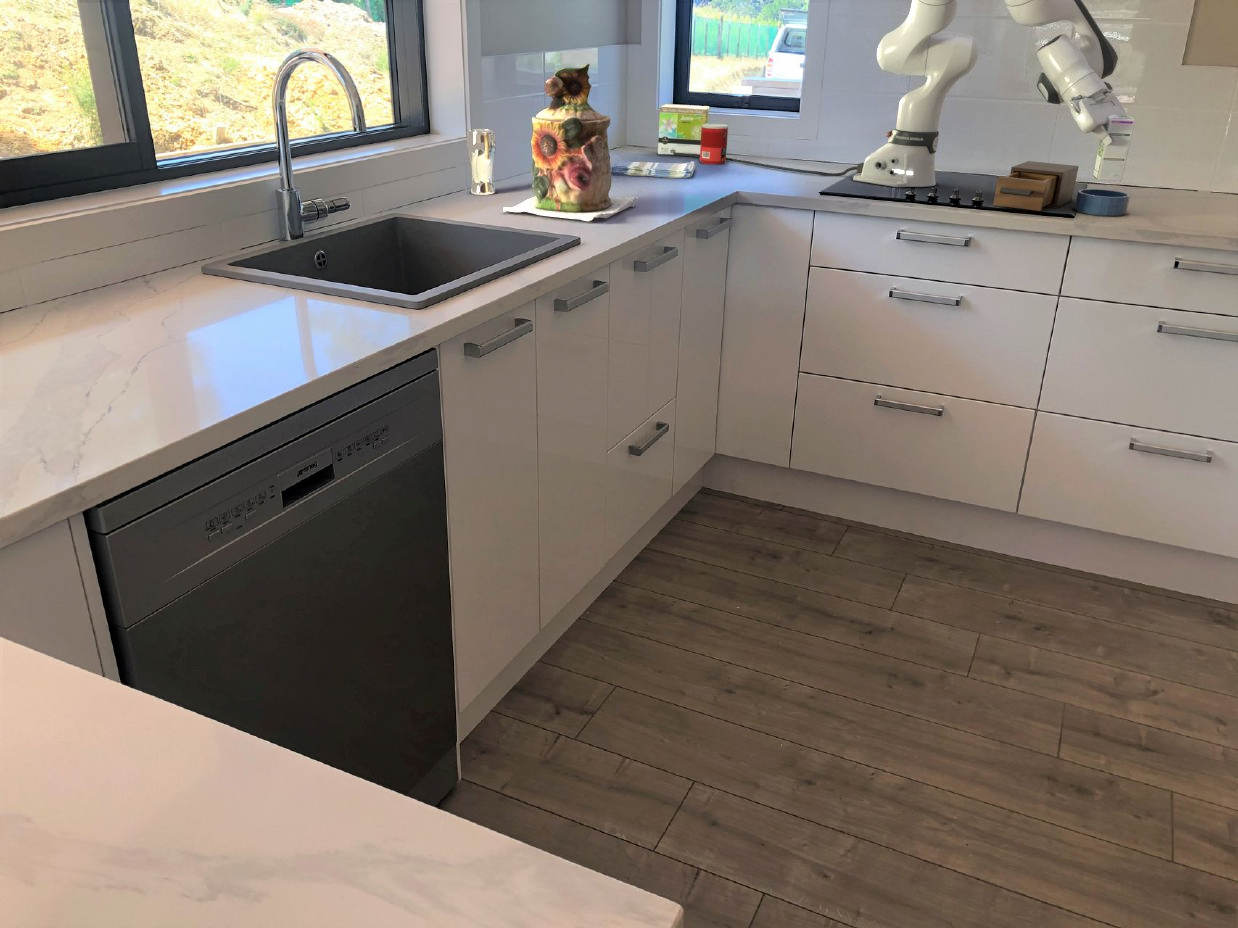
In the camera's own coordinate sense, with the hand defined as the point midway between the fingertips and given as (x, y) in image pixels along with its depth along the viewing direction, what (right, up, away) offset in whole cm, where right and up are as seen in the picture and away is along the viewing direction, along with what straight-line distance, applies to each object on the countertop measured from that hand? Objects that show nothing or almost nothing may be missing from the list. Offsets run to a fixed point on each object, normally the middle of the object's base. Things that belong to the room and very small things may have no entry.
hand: (1117, 142), depth 240 cm
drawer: (-20, -13, +8) cm, 25 cm away
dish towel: (-109, +7, +49) cm, 120 cm away
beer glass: (-153, -9, +14) cm, 154 cm away
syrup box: (-1, -8, +4) cm, 9 cm away
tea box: (-99, +23, +85) cm, 132 cm away
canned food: (-90, +16, +69) cm, 115 cm away
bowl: (-1, -15, +7) cm, 16 cm away
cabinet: (-11, -9, +19) cm, 24 cm away
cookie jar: (-130, -18, -5) cm, 131 cm away
